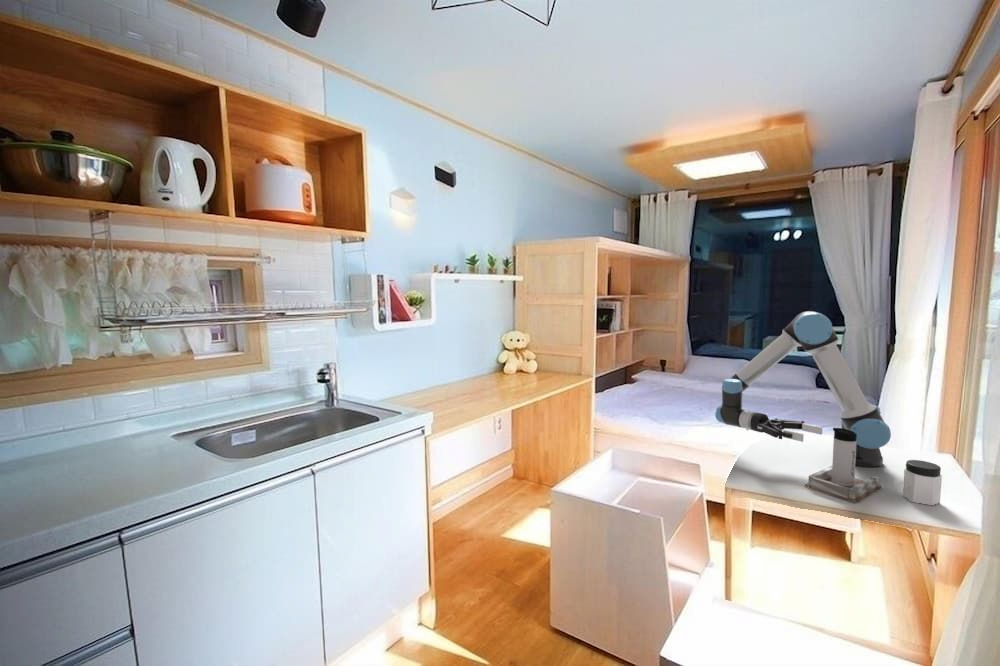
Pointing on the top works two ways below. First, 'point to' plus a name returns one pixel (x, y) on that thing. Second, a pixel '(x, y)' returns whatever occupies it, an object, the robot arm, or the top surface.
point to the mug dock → (854, 494)
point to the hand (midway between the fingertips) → (812, 434)
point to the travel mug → (844, 457)
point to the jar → (922, 482)
